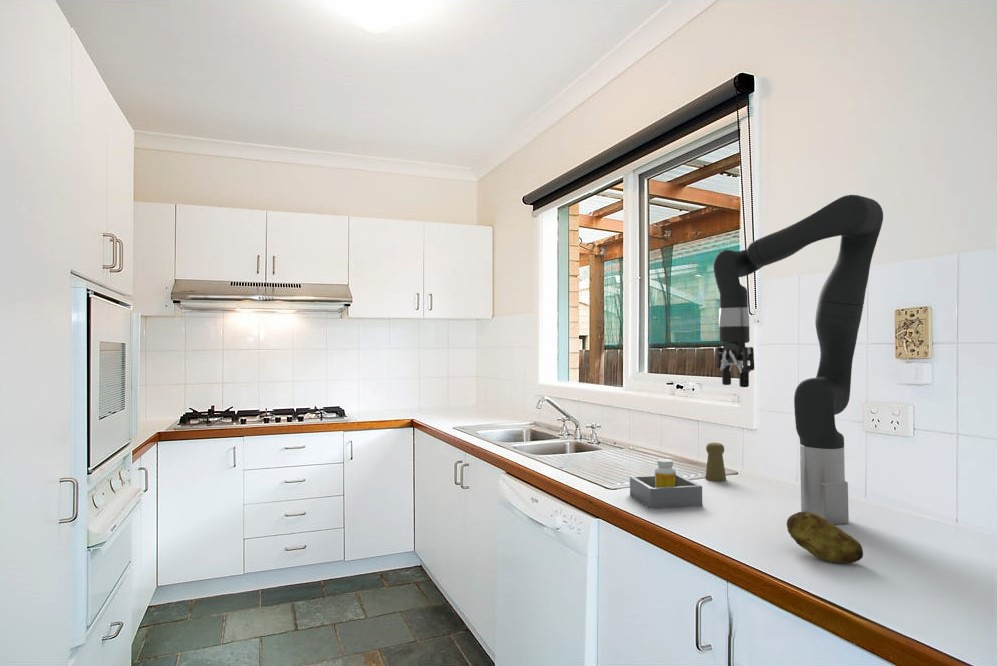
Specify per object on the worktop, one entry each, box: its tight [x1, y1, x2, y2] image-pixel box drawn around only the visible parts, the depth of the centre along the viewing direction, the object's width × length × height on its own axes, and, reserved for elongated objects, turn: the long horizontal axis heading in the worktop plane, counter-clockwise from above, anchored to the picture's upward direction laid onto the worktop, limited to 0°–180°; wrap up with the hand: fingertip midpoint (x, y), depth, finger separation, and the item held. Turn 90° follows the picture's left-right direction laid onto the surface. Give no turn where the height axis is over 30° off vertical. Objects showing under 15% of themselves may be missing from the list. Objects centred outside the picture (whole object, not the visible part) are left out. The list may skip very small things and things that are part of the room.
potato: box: [786, 511, 864, 564], centre depth 116 cm, size 8×13×8 cm, turn 23°
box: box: [629, 473, 703, 509], centre depth 159 cm, size 14×14×5 cm
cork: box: [704, 442, 727, 483], centre depth 181 cm, size 6×6×11 cm
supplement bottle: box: [654, 458, 677, 488], centre depth 159 cm, size 5×5×10 cm
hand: (735, 385), depth 159 cm, fingers open, 8 cm apart
